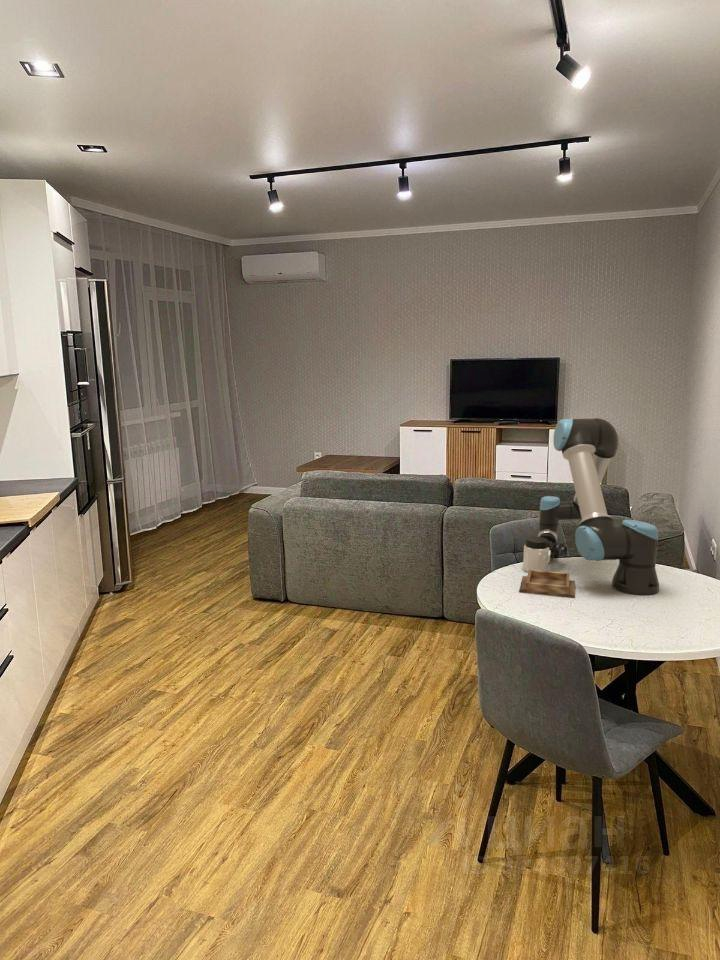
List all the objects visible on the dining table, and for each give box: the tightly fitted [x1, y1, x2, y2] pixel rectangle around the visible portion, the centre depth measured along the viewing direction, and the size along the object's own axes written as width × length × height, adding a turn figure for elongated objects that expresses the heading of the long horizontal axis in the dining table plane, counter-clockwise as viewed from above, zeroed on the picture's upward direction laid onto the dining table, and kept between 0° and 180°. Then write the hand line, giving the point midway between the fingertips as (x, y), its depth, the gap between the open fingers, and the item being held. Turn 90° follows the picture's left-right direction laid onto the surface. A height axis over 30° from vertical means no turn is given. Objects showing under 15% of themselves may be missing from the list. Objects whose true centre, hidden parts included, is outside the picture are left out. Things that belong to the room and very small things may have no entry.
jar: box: [522, 536, 549, 573], centre depth 264 cm, size 9×8×12 cm
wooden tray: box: [518, 570, 576, 599], centre depth 246 cm, size 18×15×4 cm
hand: (544, 558), depth 258 cm, fingers closed on jar, 2 cm apart
